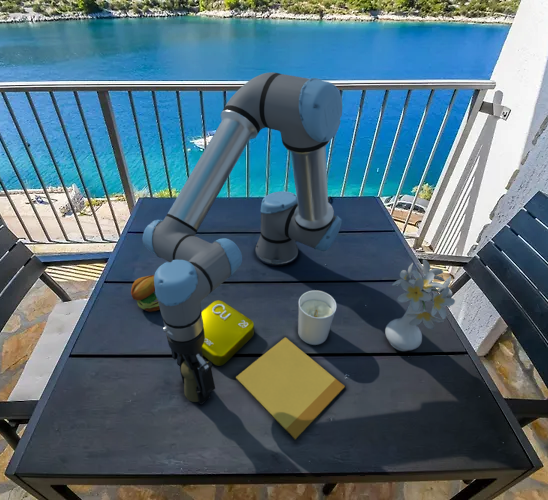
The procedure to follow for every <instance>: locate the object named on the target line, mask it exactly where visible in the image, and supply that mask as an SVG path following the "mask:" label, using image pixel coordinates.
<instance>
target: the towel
mask: <svg viewBox="0 0 548 500" xmlns="http://www.w3.org/2000/svg"><path fill="white" fill-rule="evenodd" d="M235 379H236V380H237V381H238V382H239V383H240V385H242V386H243V387H244V388H245V389H246V390H247V391H248V392H249V394H250V395H251V396H253V398H254V399H255V400H256V401H257V402H258V403H259V404H260V405H261V406H262V407H263V408H264V409H265V410H266V411H267V412H268V414H270V416H272V418H274V420H276V422H277V423H278V424H279V425H280V426H281V427H282V428H283V429H284V430H285V431H286V432H287V433H288V434H289V435H290V436H291V437H292V438H293V440H297V438H298V437H300V436H301V434H302V433H303V432H304V431H305V430H307V428H308V427H309V426H310V425H311V424H312V423H313V422H314V421H315V420H316V419H317V417H319V416H320V414H321V413H323V411H324V410H325V409H326V408H327V407H328V406H329V405H330V404H331V403H332V402H333V401H334V400H335V399H336V398H337V396H338V395H339V394H340V393H341V392H342V391H343V390H344V389H345V388H346V386H345V385H344V384H343V383H342V382H340V381H339V380H338V379H337V378H335V376H333V375H332V374H331V373H329V372H328V371H327V370H326V369H324V367H322V366H321V365H320V364H319V363H317V362H316V361H315V360H314V359H313V358H311V357H310V356H309V355H307V354H306V353H305V352H304V351H303V350H302V349H300V348H299V347H298V346H297V345H296V344H294V343H293V342H292V341H291V340H290V339H289V338H287V337H284V338H282V339H281V340H280V341H278V342H277V343H276V344H274V345H273V346H272V347H271V348H270V349H269V350H267V351H266V352H264V353H263V354H262V355H261V356H260V357H258V359H256V360H255V361H253V362H252V363H251V364H250V365H248V366H247V367H246V368H245V369H244V370H242V371H241V372H240V373H239V374H238V375H236V376H235Z"/></svg>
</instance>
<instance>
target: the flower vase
mask: <svg viewBox="0 0 548 500" xmlns="http://www.w3.org/2000/svg"><path fill="white" fill-rule="evenodd" d="M416 265H417V267H418V268H419V270H420V271H421V272H422V274H423V276H422V274H421V273H420V272H419V271H417V270H415V269H413V266H414V262H411V263H410V265H409V266H408V269H407V270H406V269H402V270H401V271H399V277H400V279H397V280H396V281H394V282H393V283H392V284H391V286H392V287H393V286H394V287H395V286H396V287H399V286H400V287H401V289H402V290H404V291H405V292H404V293H403V292H402V293H401V294H399V295H398V296H397V299H396V300H397V302H398V303H407V302H409V303H408V306H407V308H406V310H405V312H404V314H403V316H402V317H400V318H394V319H392V320H390V321H389V322H388V323H387V325H385V328H384V333H385V334H384V335H385V337H386V339H387V341H388V342H389V344H390V345H391V347H392V348H394V349H395V350H397V351H400V352H408V351H413V350H416V349H417V348H419V347H420V346H421V344H422V342H423V333H422V330H421V329H420V327H419V326H418V325H419V324H421V323H423V325H424V326H425V327H426V328H427V329H429V330H434V329H435V324H434V322H435V323H439V324H440V323H445V319H446V318H447V311H446V308H445V307H447V308H450V307H451V306H453V305H454V304H455V302H456V300H455V299H454V298H452V297H453V292H452V289H450V284H451V281H452V276H451V275H449V277H448V278H446V279H444V278H443V277H442V276H440V275H443V273H444V271H443V269H441V268H436V267H435V268H431V265H430V263H429V261H428V260H427V259H422V264H421V263H419V262H416ZM412 277H414V279H413V278H412ZM434 280H437V281H440V282H437V281H434ZM441 282H443V283H441ZM432 292H435V293H434V294H433V295H431V294H430V293H432ZM437 292H438V293H437ZM427 302H432V307H431V311H427V310H426V303H427ZM437 313H438V315H439V317H438V316H436V315H437Z"/></svg>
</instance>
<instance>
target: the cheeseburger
mask: <svg viewBox="0 0 548 500" xmlns="http://www.w3.org/2000/svg"><path fill="white" fill-rule="evenodd" d="M154 275H155V274H152V275H151V274H150V275H146V276H142V277H141V276H140V277H138V278H137V279H135V280H134V282H133V283H132V285H131V289H130V294H131V297H132V299H133V300H135V302H137V306H138V307H139V309H142V310H144V311H145V312H150V313H151V312H156V311H159V310H160V307H159V303H158V299H157V297H156V294H155V293H156V292H155V285H154Z"/></svg>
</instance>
